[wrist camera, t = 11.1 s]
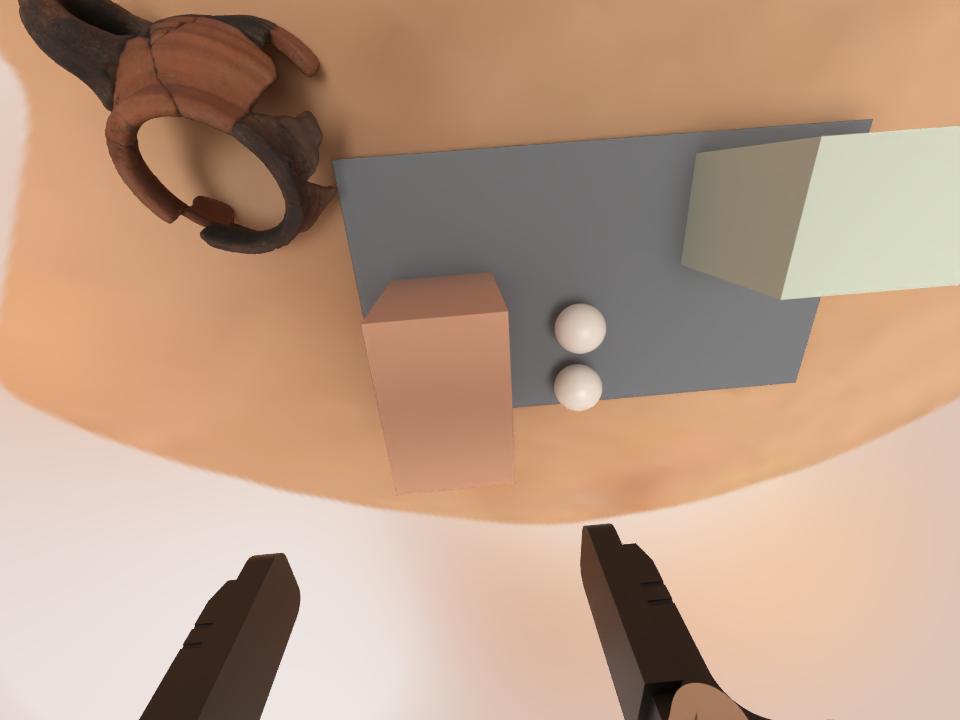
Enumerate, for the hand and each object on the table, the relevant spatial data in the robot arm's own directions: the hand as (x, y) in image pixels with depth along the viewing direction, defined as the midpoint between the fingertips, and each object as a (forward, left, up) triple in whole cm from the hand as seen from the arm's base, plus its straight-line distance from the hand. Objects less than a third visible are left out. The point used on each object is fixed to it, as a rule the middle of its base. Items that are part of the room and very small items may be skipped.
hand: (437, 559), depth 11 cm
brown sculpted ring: (-13, -10, -17) cm, 23 cm away
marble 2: (+3, +8, -16) cm, 18 cm away
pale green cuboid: (-7, +19, -16) cm, 26 cm away
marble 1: (-1, +8, -16) cm, 18 cm away
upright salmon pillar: (0, 0, -16) cm, 16 cm away
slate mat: (-3, +9, -17) cm, 19 cm away
